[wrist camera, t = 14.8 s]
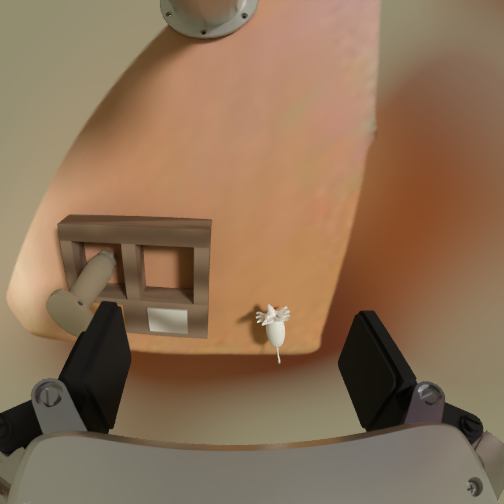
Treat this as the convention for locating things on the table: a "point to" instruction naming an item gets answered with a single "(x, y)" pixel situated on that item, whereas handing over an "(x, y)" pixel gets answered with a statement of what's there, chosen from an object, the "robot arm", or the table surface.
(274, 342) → the white animal figurine
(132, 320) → the socket block
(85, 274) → the handle
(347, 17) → the table surface
